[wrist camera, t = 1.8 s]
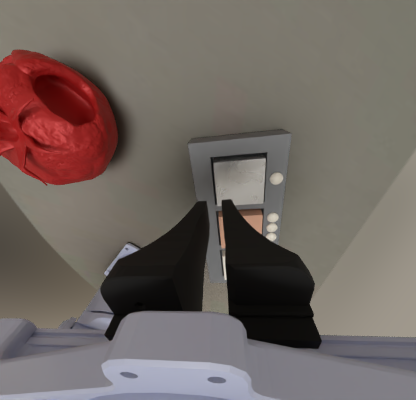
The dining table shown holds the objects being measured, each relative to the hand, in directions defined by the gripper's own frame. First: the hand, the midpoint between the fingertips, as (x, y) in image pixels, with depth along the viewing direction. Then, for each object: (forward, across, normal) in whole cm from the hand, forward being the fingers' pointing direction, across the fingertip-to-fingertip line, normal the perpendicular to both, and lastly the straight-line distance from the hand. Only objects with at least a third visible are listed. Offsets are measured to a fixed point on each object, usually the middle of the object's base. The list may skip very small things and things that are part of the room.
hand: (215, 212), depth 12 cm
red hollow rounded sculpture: (+9, +13, -6) cm, 17 cm away
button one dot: (+7, -2, 0) cm, 7 cm away
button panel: (+8, -2, +6) cm, 11 cm away
